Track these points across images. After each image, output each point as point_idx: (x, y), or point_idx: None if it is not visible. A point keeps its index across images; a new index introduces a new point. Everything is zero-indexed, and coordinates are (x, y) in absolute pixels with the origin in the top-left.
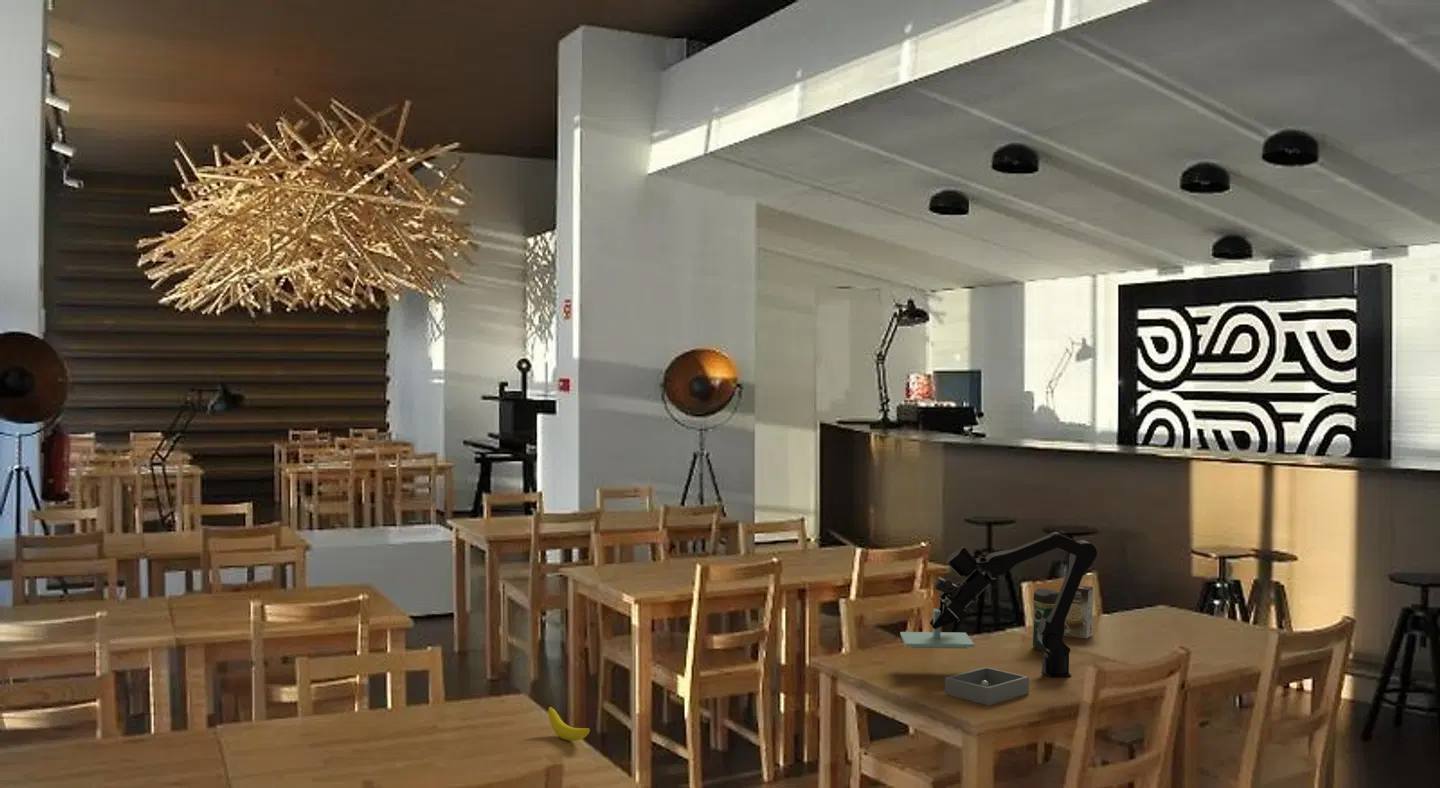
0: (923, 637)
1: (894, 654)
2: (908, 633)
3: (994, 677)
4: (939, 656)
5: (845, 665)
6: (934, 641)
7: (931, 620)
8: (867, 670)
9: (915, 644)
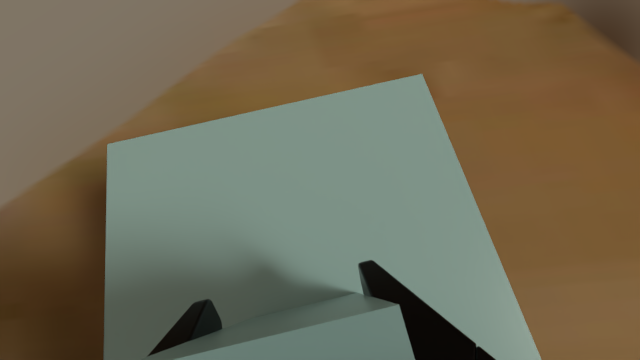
0: (301, 227)
1: (557, 116)
2: (393, 122)
3: None
4: (631, 296)
5: (331, 11)
6: None
7: (377, 277)
8: (287, 73)
9: (111, 199)
